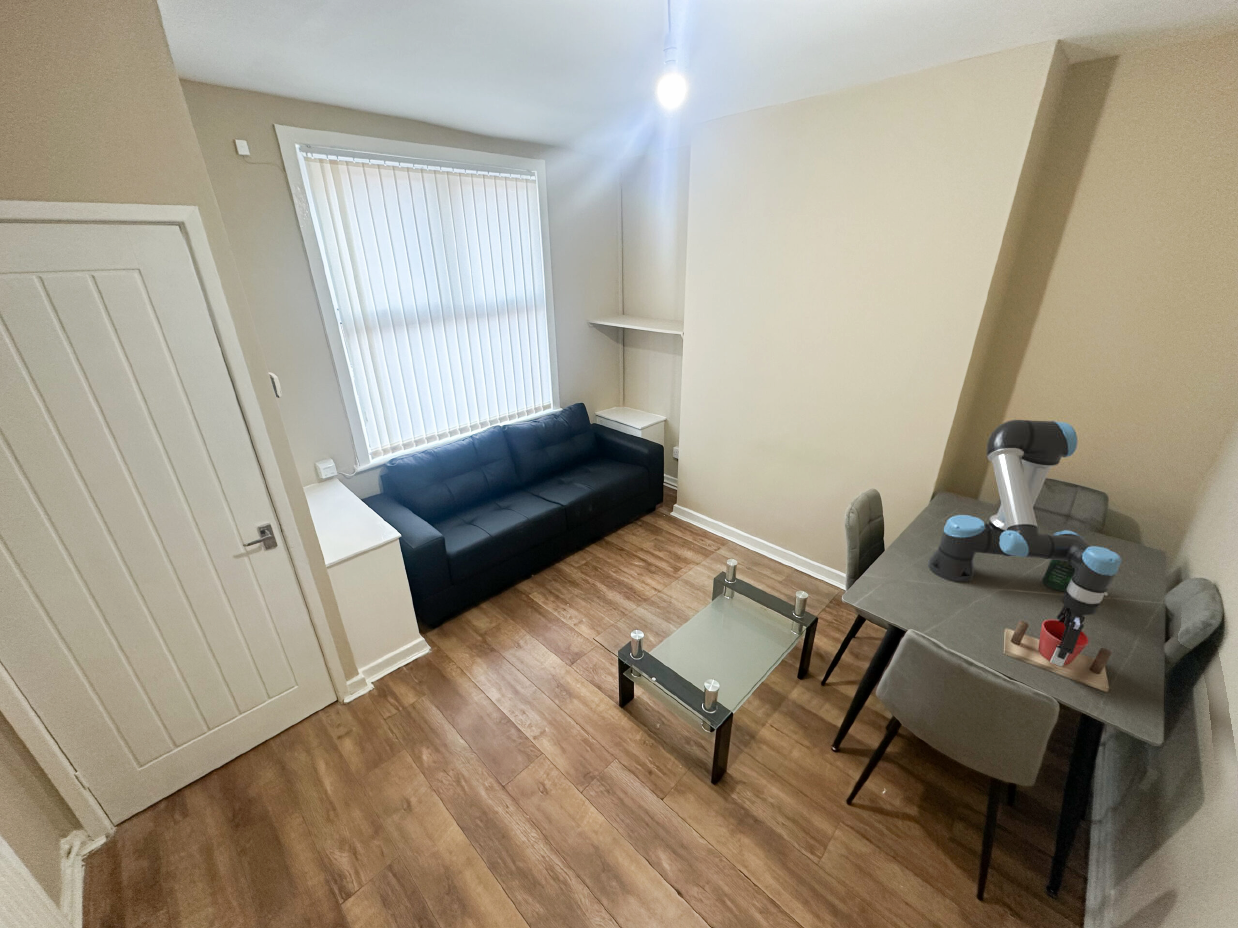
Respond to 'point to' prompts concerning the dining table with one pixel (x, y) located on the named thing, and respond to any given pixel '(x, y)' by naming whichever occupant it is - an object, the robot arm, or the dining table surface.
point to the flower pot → (1058, 640)
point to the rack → (1077, 670)
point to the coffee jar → (1058, 575)
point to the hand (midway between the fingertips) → (1055, 652)
